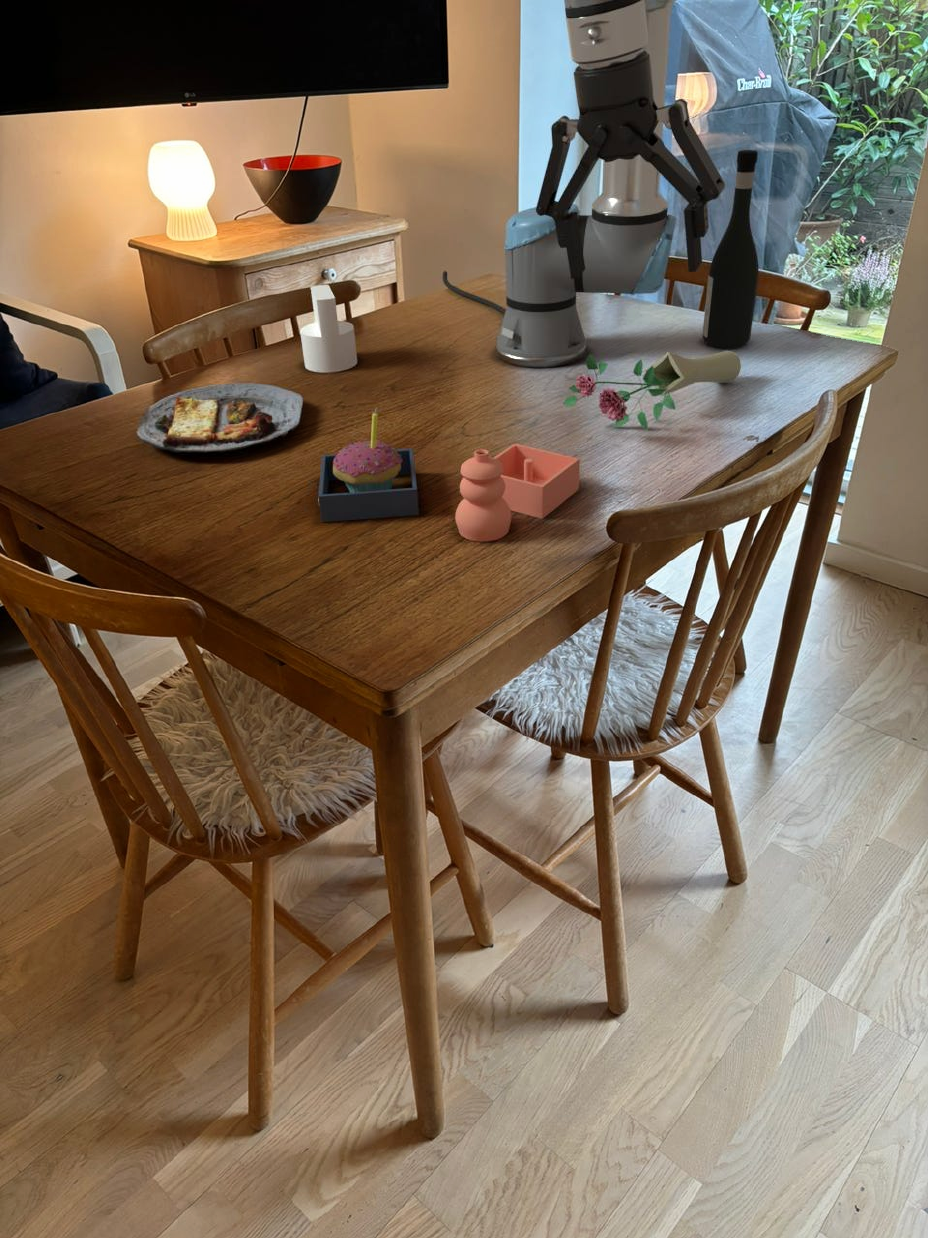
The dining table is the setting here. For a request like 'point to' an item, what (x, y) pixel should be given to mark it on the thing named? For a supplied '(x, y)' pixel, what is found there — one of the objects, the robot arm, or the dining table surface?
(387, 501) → the rectangular frame
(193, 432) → the food plate
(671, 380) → the flower vase
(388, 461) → the cupcake
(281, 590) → the dining table surface
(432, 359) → the dining table surface
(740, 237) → the wine bottle
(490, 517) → the pottery
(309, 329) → the cylinder with rectangular tab
